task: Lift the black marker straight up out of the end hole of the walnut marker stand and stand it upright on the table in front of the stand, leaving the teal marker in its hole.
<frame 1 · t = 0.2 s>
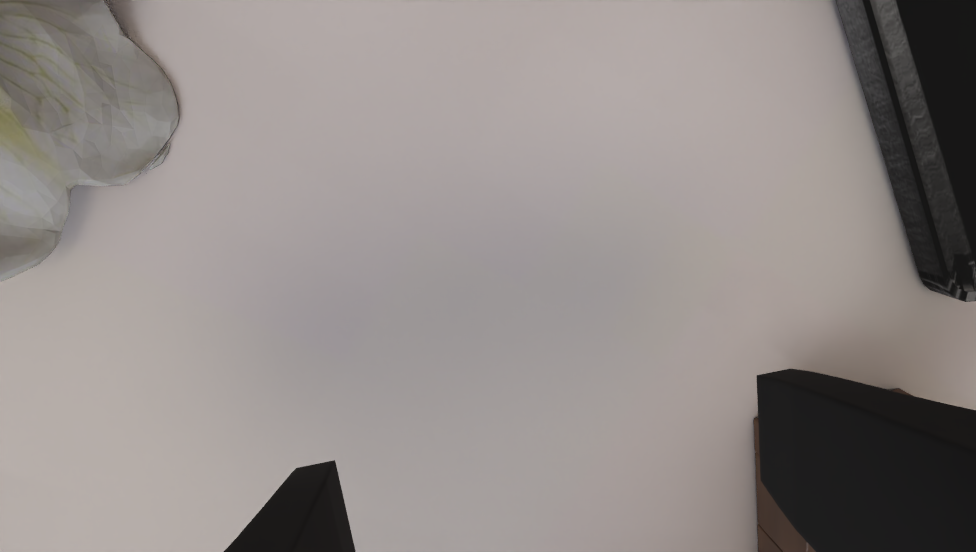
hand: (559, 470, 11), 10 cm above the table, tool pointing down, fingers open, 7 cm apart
phone: (971, 46, 21), on the table
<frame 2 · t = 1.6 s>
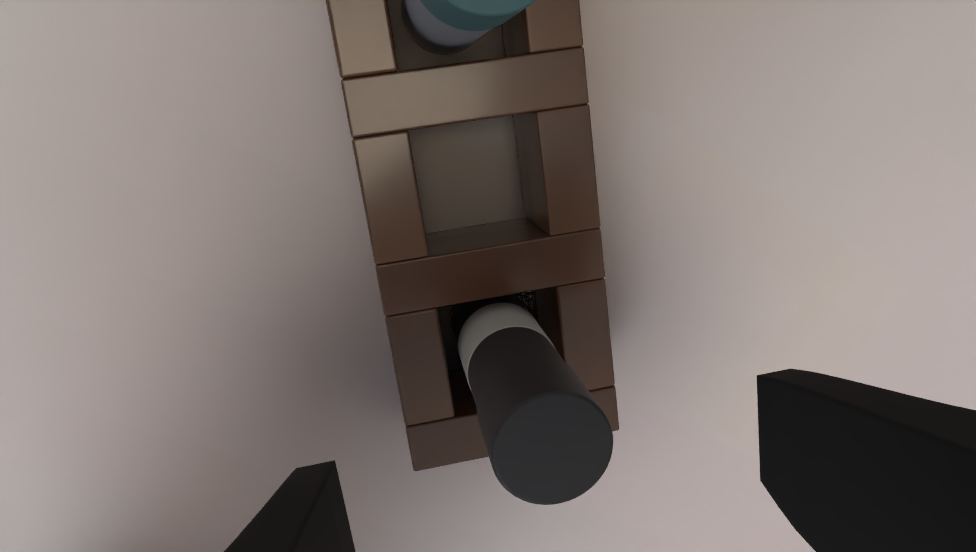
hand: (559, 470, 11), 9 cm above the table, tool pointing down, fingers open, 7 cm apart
marker stand: (466, 173, 19), on the table
teal marker: (443, 10, 17), resting in marker stand
black marker: (487, 317, 20), resting in marker stand
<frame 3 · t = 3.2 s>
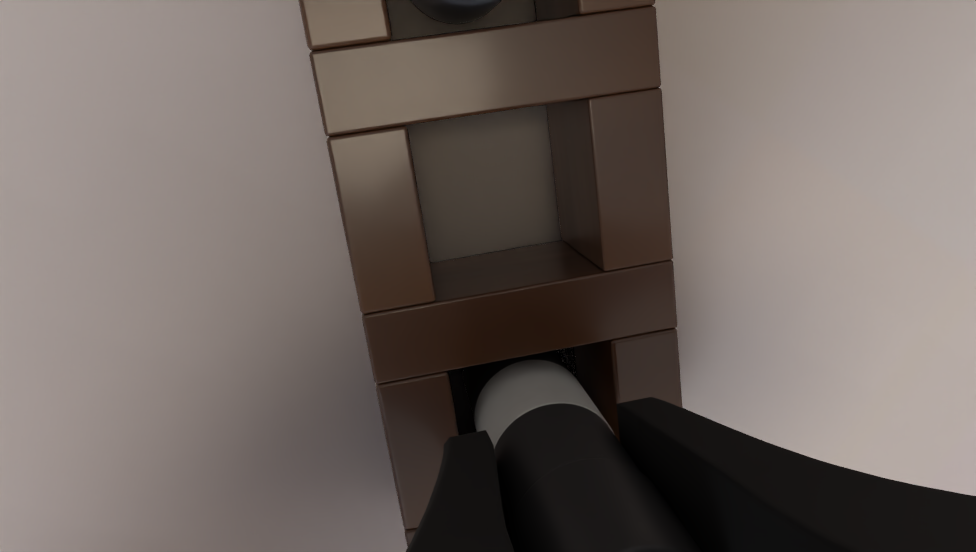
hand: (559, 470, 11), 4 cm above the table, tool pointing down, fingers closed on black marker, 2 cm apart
marker stand: (484, 183, 14), on the table
black marker: (510, 369, 15), resting in marker stand, touching gripper
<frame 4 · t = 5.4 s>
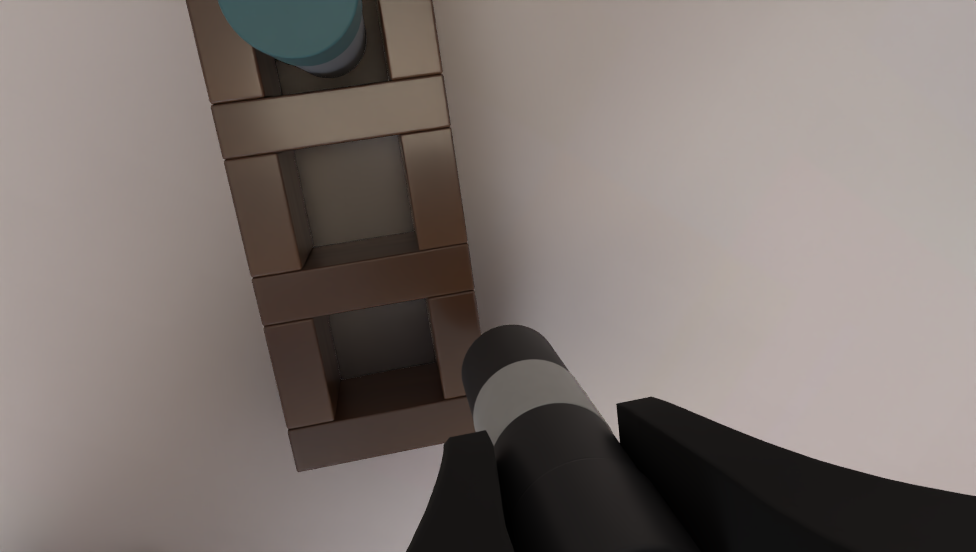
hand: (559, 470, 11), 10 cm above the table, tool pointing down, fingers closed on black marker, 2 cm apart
marker stand: (355, 189, 20), on the table
teal marker: (326, 36, 19), resting in marker stand
black marker: (509, 369, 15), point 6 cm above the table, touching gripper
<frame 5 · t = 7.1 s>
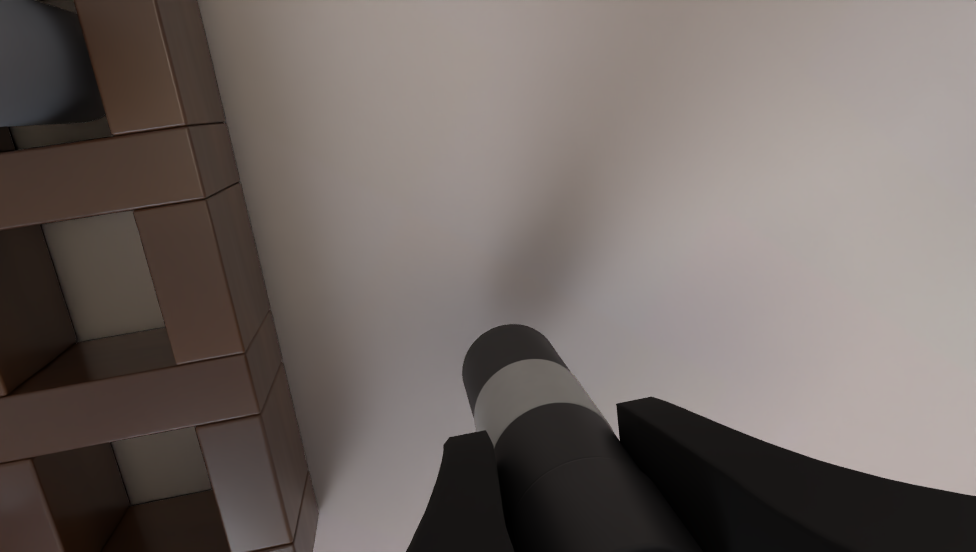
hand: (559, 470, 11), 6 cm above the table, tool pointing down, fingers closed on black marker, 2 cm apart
marker stand: (129, 267, 15), on the table
teal marker: (71, 68, 14), resting in marker stand
black marker: (509, 369, 15), point 2 cm above the table, touching gripper
when the fingers open (4 cm above the table, at t = 7.9 s): black marker stays where it is, on the table.
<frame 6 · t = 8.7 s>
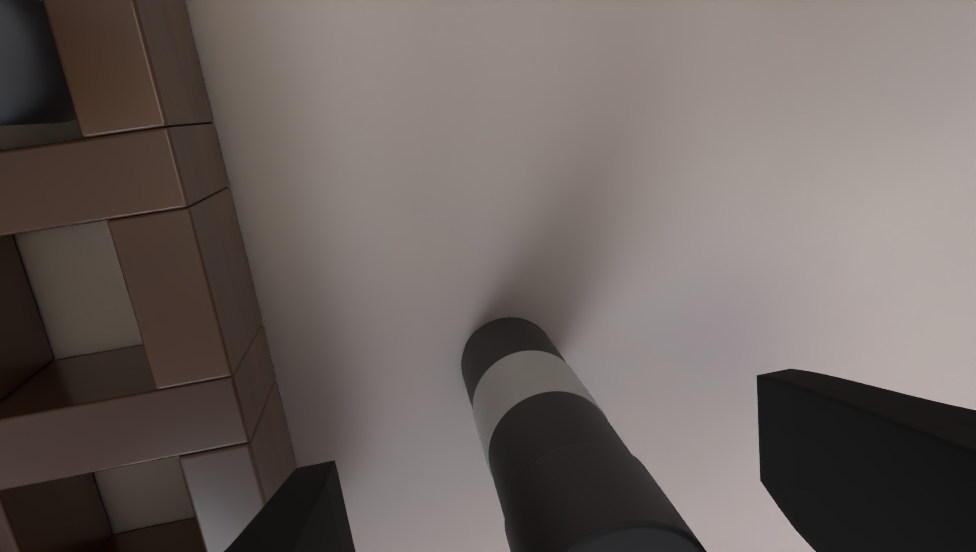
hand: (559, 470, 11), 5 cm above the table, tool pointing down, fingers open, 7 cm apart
marker stand: (109, 279, 14), on the table
teal marker: (44, 63, 13), resting in marker stand
black marker: (507, 361, 16), on the table
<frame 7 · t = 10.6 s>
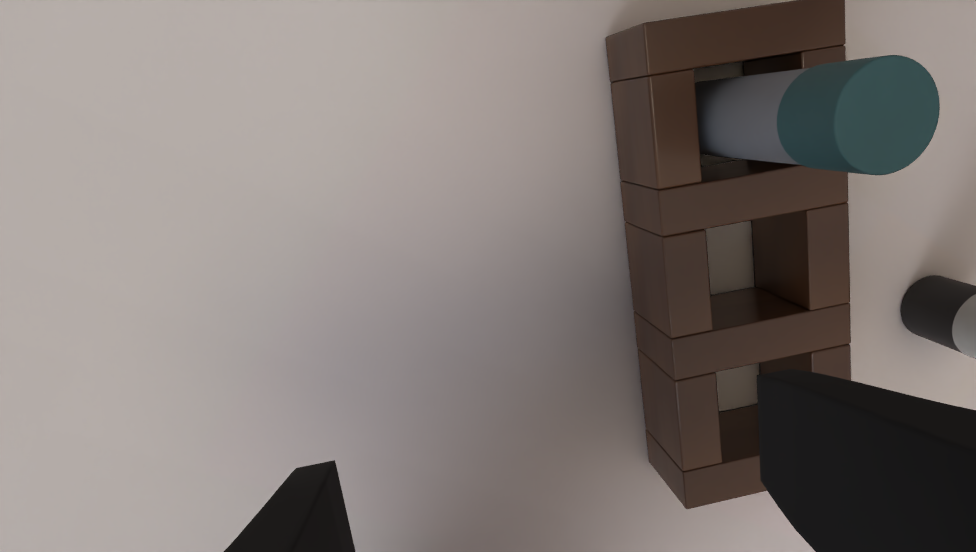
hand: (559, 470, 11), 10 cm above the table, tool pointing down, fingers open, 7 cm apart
marker stand: (709, 251, 22), on the table
teal marker: (700, 118, 21), resting in marker stand
black marker: (928, 305, 24), on the table
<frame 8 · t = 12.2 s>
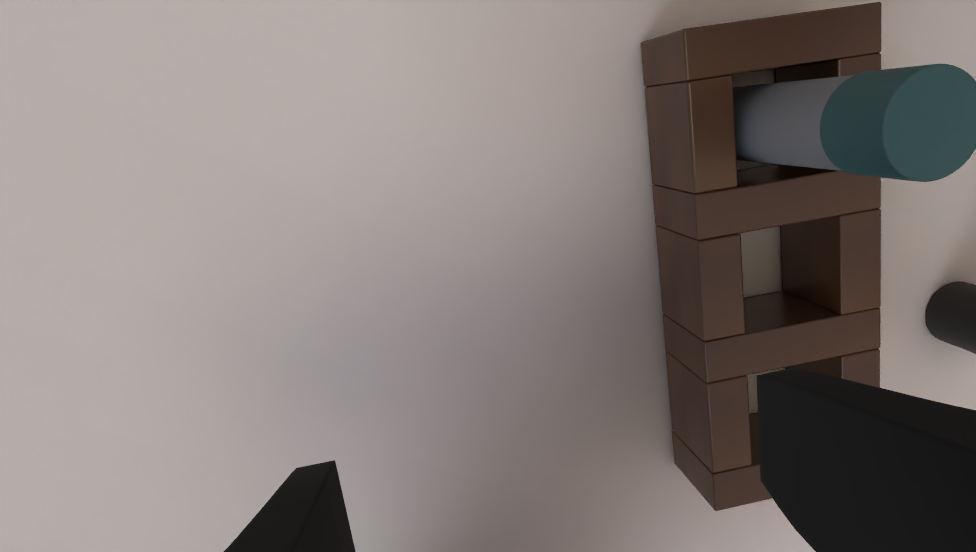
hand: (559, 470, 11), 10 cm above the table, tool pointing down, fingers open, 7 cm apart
marker stand: (738, 255, 22), on the table
teal marker: (732, 123, 21), resting in marker stand
black marker: (952, 311, 24), on the table
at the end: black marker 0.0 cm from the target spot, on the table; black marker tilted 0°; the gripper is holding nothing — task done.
